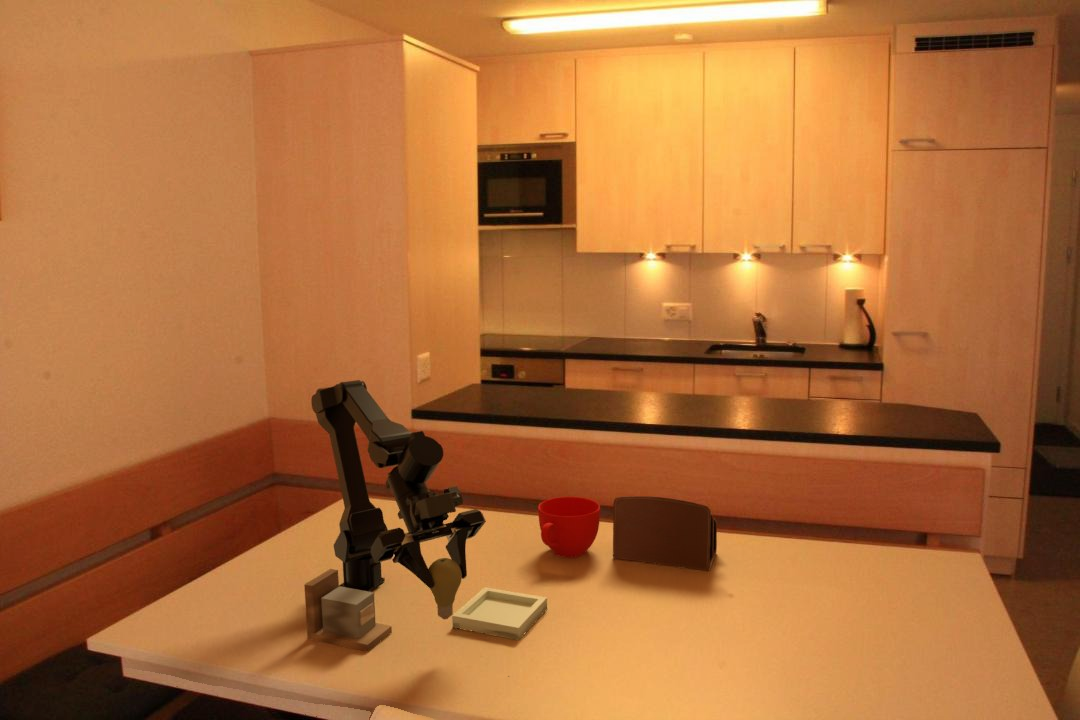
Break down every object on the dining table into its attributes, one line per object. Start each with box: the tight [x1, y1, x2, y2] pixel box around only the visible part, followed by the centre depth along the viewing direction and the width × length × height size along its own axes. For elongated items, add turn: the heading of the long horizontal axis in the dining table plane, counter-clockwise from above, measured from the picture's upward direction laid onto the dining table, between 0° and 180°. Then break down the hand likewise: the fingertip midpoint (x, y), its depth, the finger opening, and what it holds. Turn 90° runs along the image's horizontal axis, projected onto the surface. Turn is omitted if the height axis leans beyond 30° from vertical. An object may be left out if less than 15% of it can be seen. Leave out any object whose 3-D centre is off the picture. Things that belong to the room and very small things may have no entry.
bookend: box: [303, 568, 393, 653], centre depth 141 cm, size 12×7×10 cm, turn 67°
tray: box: [451, 587, 548, 641], centre depth 147 cm, size 12×12×2 cm
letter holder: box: [612, 495, 718, 572], centre depth 173 cm, size 10×20×14 cm, turn 70°
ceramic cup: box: [537, 496, 601, 559], centre depth 175 cm, size 13×17×10 cm
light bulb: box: [428, 557, 463, 620], centre depth 134 cm, size 6×6×10 cm
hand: (448, 582), depth 133 cm, fingers closed on light bulb, 6 cm apart
